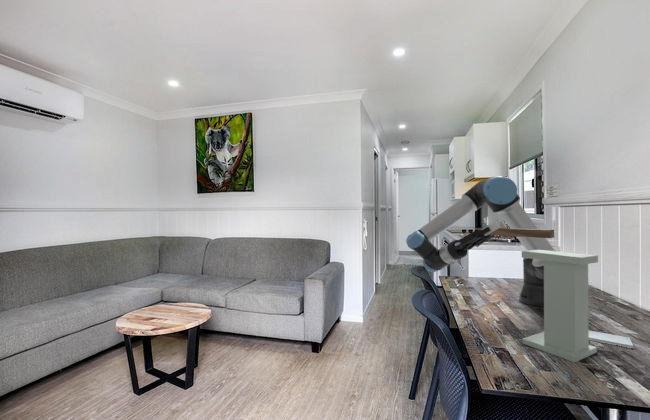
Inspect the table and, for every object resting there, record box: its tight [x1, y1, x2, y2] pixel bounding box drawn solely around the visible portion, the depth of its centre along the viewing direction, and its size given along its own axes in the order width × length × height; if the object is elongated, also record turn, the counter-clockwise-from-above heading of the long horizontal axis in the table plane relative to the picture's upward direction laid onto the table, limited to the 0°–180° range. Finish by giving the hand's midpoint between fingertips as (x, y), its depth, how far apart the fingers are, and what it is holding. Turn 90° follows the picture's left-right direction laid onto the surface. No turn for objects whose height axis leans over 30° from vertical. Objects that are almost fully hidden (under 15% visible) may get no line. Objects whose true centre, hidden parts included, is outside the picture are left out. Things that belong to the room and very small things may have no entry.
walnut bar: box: [477, 227, 555, 239], centre depth 106 cm, size 3×24×2 cm, turn 29°
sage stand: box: [521, 250, 599, 363], centre depth 94 cm, size 13×16×29 cm
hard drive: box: [589, 329, 634, 349], centre depth 100 cm, size 2×8×12 cm
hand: (501, 224), depth 109 cm, fingers closed on walnut bar, 3 cm apart
